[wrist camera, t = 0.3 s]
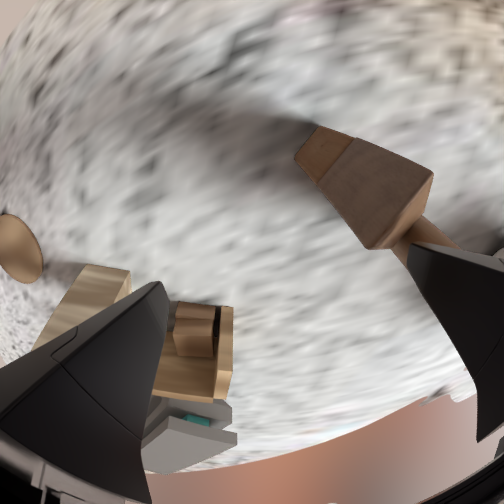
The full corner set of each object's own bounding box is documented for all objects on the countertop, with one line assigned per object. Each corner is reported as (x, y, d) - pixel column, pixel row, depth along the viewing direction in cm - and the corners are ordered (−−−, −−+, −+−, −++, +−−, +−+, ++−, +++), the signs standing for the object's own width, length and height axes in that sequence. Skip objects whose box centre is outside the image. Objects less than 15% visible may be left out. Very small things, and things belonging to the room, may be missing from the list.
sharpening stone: (171, 426, 44) (165, 475, 35) (132, 413, 42) (122, 463, 32) (236, 368, 34) (237, 445, 24) (180, 348, 31) (167, 428, 22)
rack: (79, 282, 26) (47, 334, 19) (233, 307, 28) (232, 371, 21) (89, 321, 29) (65, 372, 22) (226, 345, 31) (224, 404, 24)
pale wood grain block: (86, 263, 25) (30, 350, 15) (129, 271, 25) (83, 368, 15) (91, 290, 27) (45, 376, 16) (132, 298, 27) (95, 393, 17)
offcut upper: (176, 318, 26) (172, 334, 24) (212, 319, 26) (210, 336, 24) (180, 339, 28) (177, 355, 26) (214, 341, 28) (213, 357, 26)
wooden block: (319, 123, 19) (518, 220, 4) (402, 202, 23) (537, 341, 7) (291, 158, 21) (416, 336, 5) (377, 230, 24) (489, 389, 9)
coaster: (-14, 239, 22) (-17, 241, 22) (9, 198, 20) (6, 201, 20) (25, 290, 27) (23, 293, 26) (54, 261, 25) (52, 264, 24)
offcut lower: (179, 299, 28) (175, 314, 26) (215, 304, 28) (214, 319, 26) (178, 323, 30) (175, 337, 28) (212, 327, 30) (211, 342, 28)
